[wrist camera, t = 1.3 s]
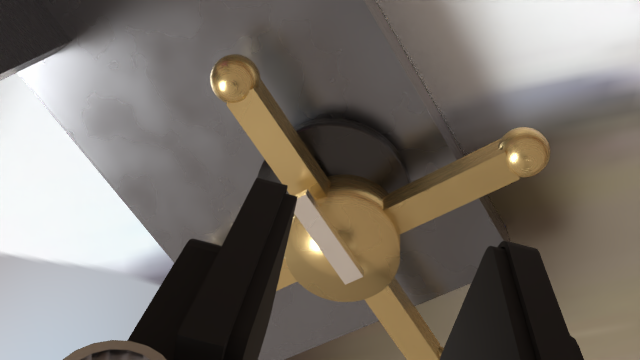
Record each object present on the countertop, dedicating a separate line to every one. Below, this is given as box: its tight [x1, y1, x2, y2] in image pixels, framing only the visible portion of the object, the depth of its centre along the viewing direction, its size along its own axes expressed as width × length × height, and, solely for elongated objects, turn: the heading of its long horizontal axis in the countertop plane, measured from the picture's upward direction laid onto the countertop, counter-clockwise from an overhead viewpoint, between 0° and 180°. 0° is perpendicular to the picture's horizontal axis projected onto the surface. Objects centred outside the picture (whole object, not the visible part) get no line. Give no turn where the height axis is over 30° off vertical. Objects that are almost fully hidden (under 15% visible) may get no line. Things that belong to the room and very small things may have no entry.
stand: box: [0, 0, 510, 360], centre depth 21 cm, size 22×14×15 cm, turn 33°
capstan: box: [210, 54, 550, 360], centre depth 24 cm, size 17×17×4 cm
